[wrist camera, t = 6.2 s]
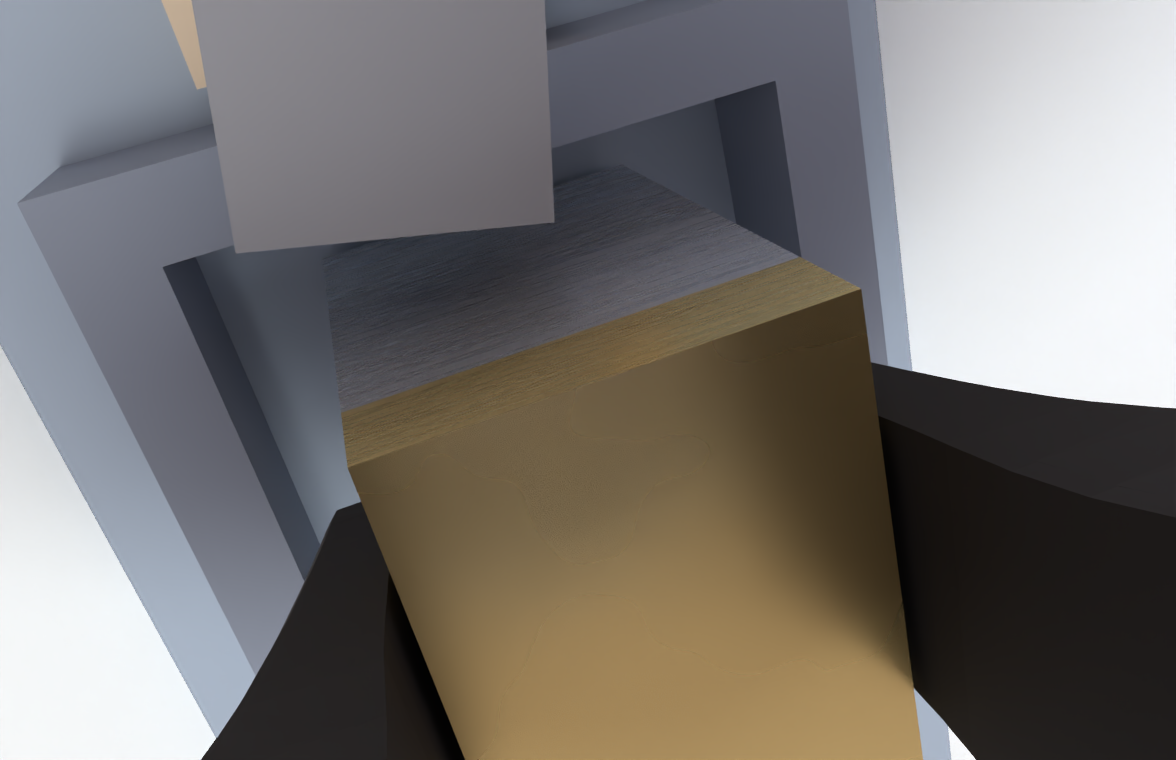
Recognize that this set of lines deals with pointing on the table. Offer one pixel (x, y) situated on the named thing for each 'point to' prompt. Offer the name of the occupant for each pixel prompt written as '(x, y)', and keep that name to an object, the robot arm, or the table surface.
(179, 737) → the table surface
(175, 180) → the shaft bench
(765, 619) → the tan and white block
